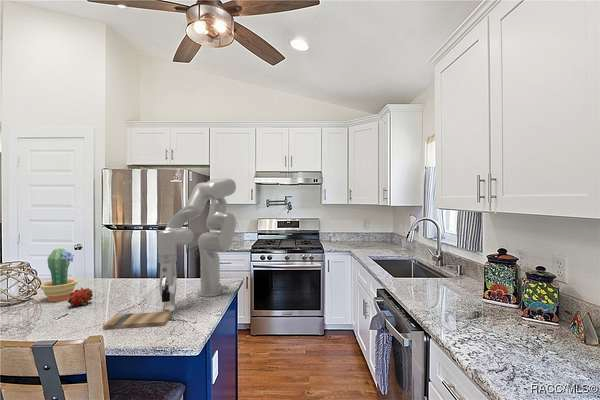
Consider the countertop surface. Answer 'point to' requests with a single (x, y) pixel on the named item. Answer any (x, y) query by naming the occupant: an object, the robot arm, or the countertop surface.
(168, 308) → the beer glass
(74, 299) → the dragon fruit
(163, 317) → the oak board
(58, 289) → the potted cactus
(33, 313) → the countertop surface
